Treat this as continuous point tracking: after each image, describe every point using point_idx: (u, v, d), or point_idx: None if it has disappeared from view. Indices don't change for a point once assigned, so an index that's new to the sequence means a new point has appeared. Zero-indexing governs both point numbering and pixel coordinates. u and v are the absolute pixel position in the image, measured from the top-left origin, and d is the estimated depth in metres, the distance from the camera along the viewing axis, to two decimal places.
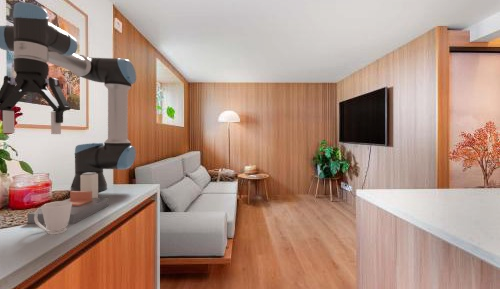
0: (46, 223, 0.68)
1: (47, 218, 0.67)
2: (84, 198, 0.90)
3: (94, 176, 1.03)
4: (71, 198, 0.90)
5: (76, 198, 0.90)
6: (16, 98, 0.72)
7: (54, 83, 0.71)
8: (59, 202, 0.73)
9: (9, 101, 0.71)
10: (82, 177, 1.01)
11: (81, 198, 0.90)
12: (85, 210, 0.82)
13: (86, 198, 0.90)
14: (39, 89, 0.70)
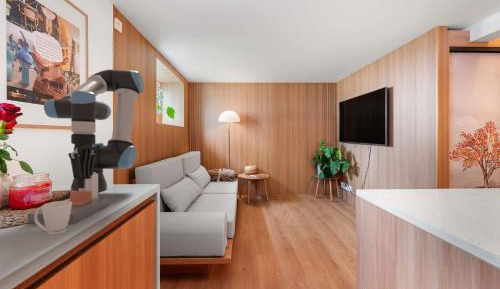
0: (46, 223, 0.68)
1: (47, 218, 0.67)
2: (84, 198, 0.90)
3: (94, 176, 1.03)
4: (71, 198, 0.90)
5: (76, 198, 0.90)
6: None
7: (71, 158, 0.86)
8: (59, 202, 0.73)
9: None
10: None
11: (81, 198, 0.90)
12: (85, 210, 0.82)
13: (86, 198, 0.90)
14: None
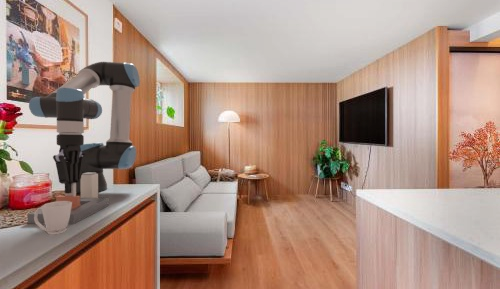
0: (46, 223, 0.68)
1: (47, 218, 0.67)
2: None
3: (94, 176, 1.03)
4: None
5: None
6: None
7: (56, 161, 0.79)
8: (59, 202, 0.73)
9: None
10: (82, 177, 1.01)
11: None
12: (85, 210, 0.82)
13: (73, 203, 0.83)
14: None
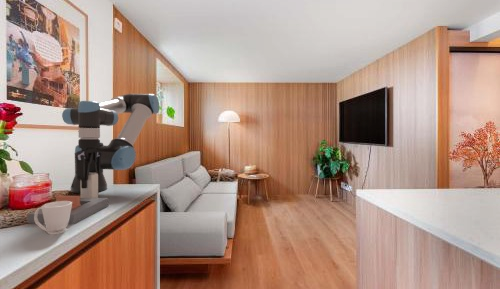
0: (46, 223, 0.68)
1: (47, 218, 0.67)
2: None
3: (94, 176, 1.03)
4: None
5: None
6: (92, 166, 1.05)
7: (77, 159, 0.96)
8: (59, 202, 0.73)
9: (90, 169, 1.05)
10: None
11: None
12: (85, 210, 0.82)
13: (73, 203, 0.83)
14: None
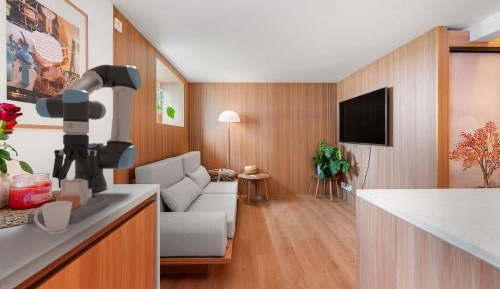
0: (46, 223, 0.68)
1: (47, 218, 0.67)
2: None
3: None
4: None
5: None
6: (67, 166, 0.88)
7: (93, 155, 0.87)
8: (59, 202, 0.73)
9: (63, 170, 0.87)
10: (80, 184, 0.87)
11: None
12: (85, 210, 0.82)
13: (73, 203, 0.83)
14: (81, 160, 0.86)
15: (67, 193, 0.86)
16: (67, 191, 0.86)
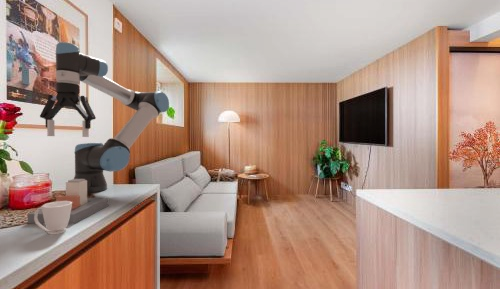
0: (46, 223, 0.68)
1: (47, 218, 0.67)
2: None
3: None
4: None
5: None
6: (56, 111, 0.98)
7: (84, 100, 0.98)
8: (59, 202, 0.73)
9: (52, 113, 0.97)
10: (80, 184, 0.87)
11: None
12: (85, 210, 0.82)
13: (73, 203, 0.83)
14: (74, 104, 0.97)
15: (67, 193, 0.86)
16: (67, 191, 0.86)
